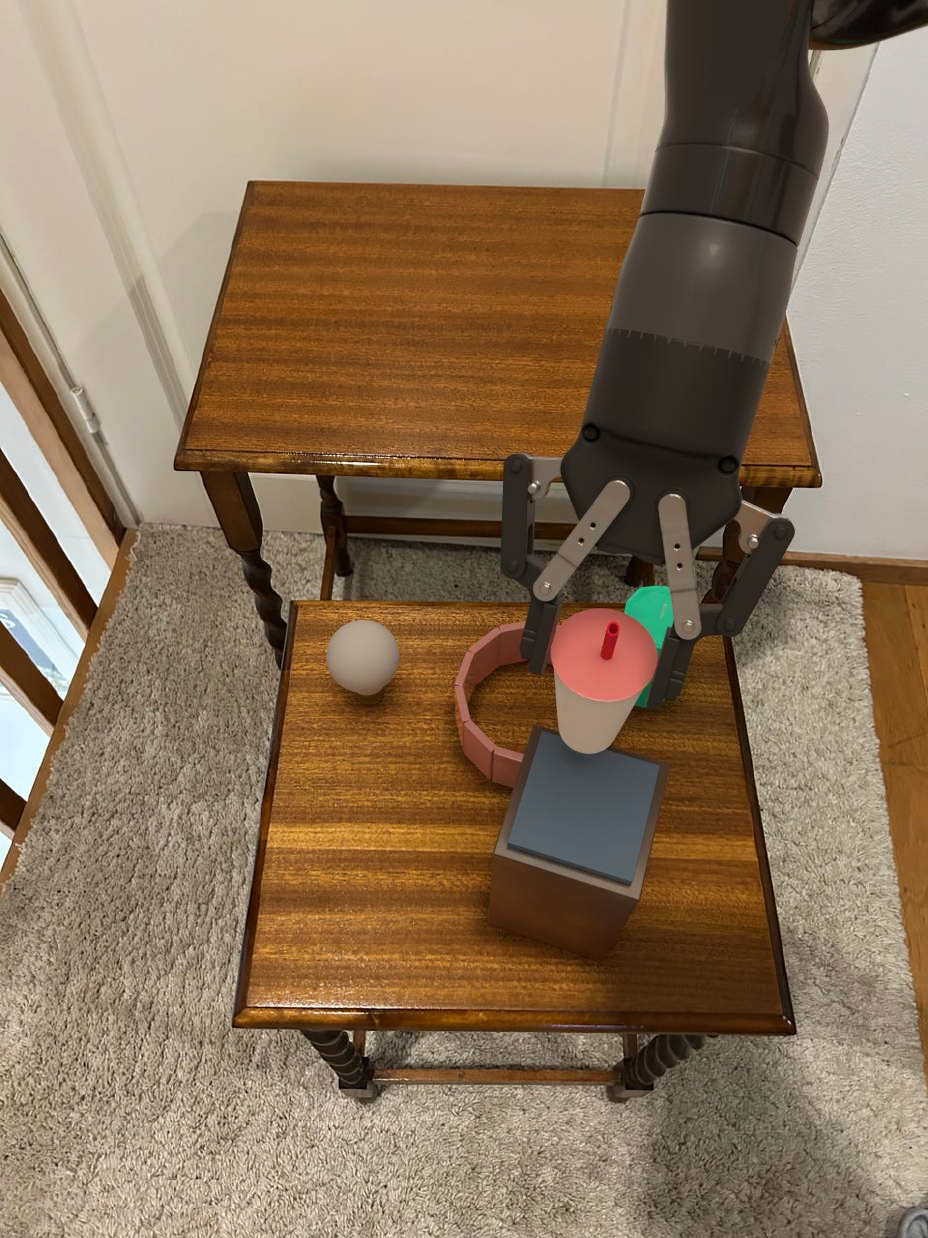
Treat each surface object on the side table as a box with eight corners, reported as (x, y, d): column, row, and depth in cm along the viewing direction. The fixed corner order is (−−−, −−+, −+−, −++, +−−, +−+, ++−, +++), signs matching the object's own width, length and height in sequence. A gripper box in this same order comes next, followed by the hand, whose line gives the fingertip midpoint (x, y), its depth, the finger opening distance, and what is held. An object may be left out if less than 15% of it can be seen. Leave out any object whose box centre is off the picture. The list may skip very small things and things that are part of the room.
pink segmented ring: (621, 677, 82) (631, 644, 77) (585, 810, 76) (594, 783, 71) (483, 638, 84) (484, 603, 79) (437, 765, 78) (434, 735, 73)
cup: (621, 781, 53) (654, 684, 43) (530, 754, 54) (541, 654, 44) (642, 700, 56) (677, 590, 45) (555, 676, 57) (570, 563, 46)
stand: (629, 850, 74) (671, 763, 59) (602, 963, 70) (639, 901, 55) (520, 816, 76) (533, 723, 60) (487, 924, 71) (492, 853, 56)
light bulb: (391, 734, 80) (381, 680, 71) (326, 715, 81) (309, 659, 72) (414, 675, 82) (407, 617, 74) (352, 657, 83) (338, 597, 75)
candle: (686, 666, 83) (717, 593, 73) (658, 719, 80) (685, 651, 70) (624, 636, 84) (646, 560, 74) (595, 687, 82) (613, 616, 72)
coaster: (657, 770, 59) (660, 765, 58) (630, 885, 55) (632, 882, 54) (541, 735, 60) (542, 730, 59) (507, 846, 56) (507, 842, 56)
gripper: (520, 297, 40) (438, 667, 44) (866, 370, 37) (743, 755, 42) (547, 315, 47) (474, 631, 51) (839, 377, 44) (736, 704, 49)
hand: (595, 685), depth 46 cm, fingers closed on cup, 5 cm apart
